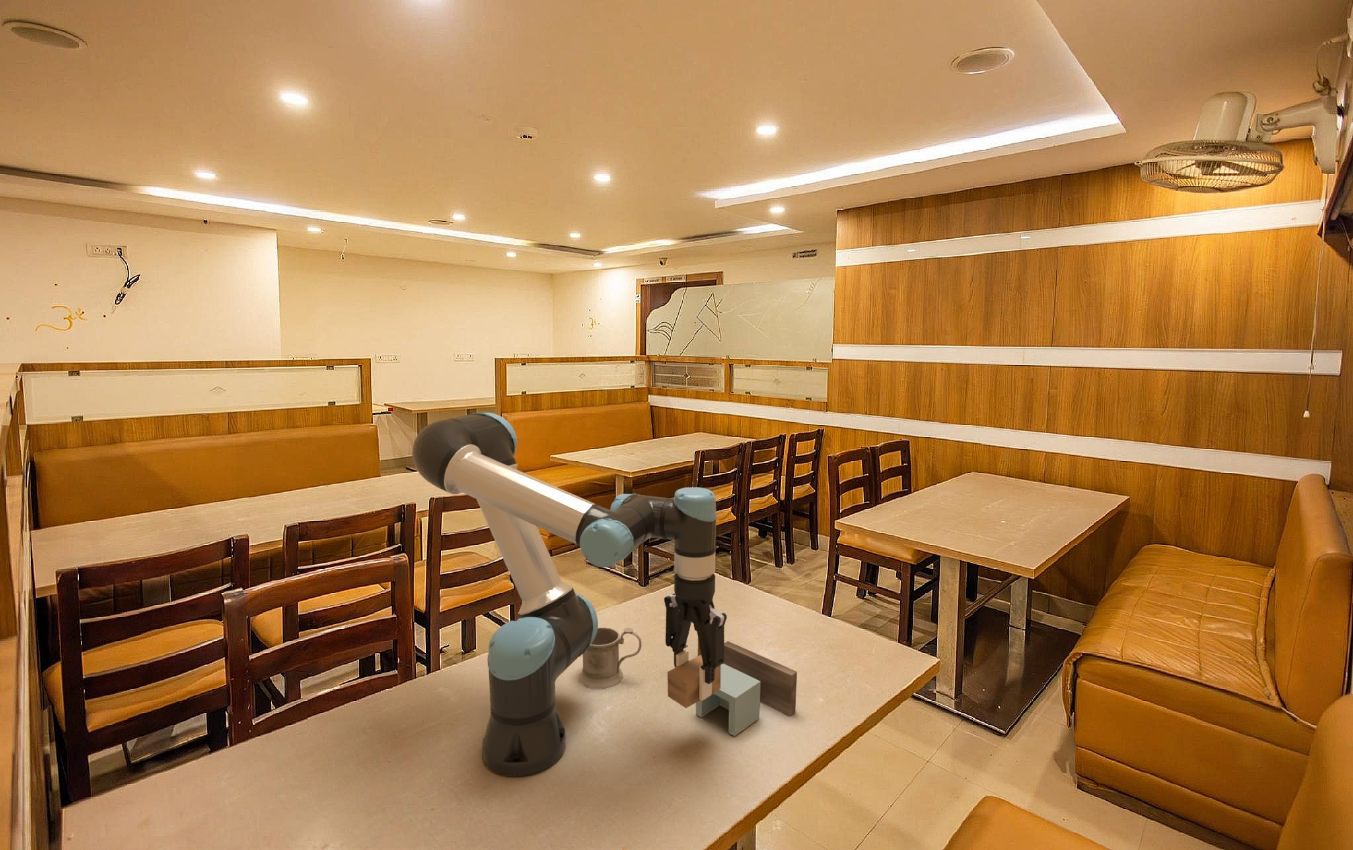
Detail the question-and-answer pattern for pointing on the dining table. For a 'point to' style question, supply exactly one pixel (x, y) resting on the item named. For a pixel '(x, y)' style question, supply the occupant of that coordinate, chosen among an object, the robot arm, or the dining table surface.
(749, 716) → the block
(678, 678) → the peg
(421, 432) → the robot arm
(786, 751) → the dining table surface
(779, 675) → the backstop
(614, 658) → the mug
